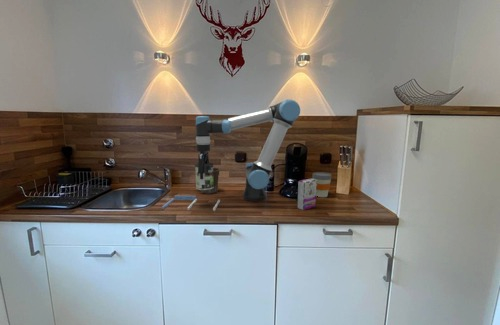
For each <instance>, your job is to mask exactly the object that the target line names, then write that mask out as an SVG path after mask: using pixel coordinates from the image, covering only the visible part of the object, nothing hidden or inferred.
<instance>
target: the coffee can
mask: <svg viewBox="0 0 500 325" xmlns="http://www.w3.org/2000/svg"><path fill="white" fill-rule="evenodd" d="M194 168H195V189H196V190H199V191H200V190H209V189H212V188H214V184H213V168H214V163H212V162H209V163H205V165H204V174H205V185H200V178H199V173H198V162H197V163H195V164H194Z"/></svg>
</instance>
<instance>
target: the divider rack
mask: <svg viewBox="0 0 500 325" xmlns="http://www.w3.org/2000/svg"><path fill="white" fill-rule="evenodd" d="M177 200H178V201H192V202H191V203H190V204H189V205H188V206H187V207H186V208H187V211H190V210H191V208H193V206H194V205H195V204H196V203H197V201H198V199H197V196H196V195H180V194H179V195H176V194H175V195H174V197H173V198H171V199H170V200H168V201H167V202H166V203H165V204H163V205H162V206H161V210H165V209H166V208H167V207H168V206H169V205H170V204H172V203H173V202H174V201H177ZM220 203H221V199H217V201H216V203H215V205H214V206H213V208H212V212H213V211H214V212H215V211H216V209H217V208H218V205H219V204H220Z"/></svg>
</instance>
